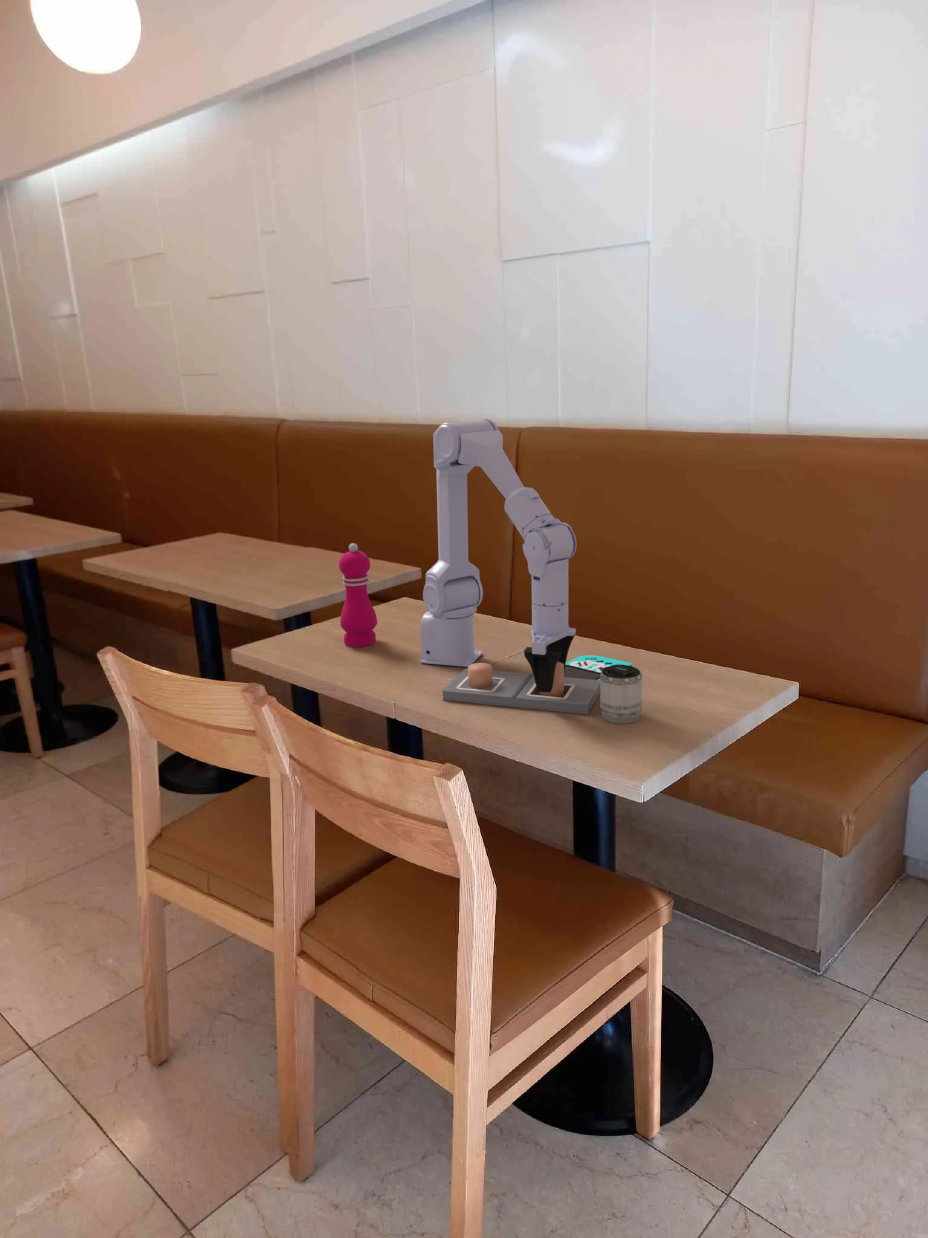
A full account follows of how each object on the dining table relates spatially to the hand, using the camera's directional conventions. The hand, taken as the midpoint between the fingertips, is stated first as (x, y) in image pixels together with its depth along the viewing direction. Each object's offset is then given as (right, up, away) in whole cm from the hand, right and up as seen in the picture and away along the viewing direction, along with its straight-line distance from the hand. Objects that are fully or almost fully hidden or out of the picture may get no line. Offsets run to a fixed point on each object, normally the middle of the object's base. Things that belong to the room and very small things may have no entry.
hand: (550, 683), depth 146 cm
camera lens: (+10, -5, -7) cm, 13 cm away
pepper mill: (-34, +5, +34) cm, 48 cm away
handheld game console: (+7, 0, +12) cm, 14 cm away
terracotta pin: (0, -3, +1) cm, 3 cm away
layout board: (-4, -2, +3) cm, 6 cm away
